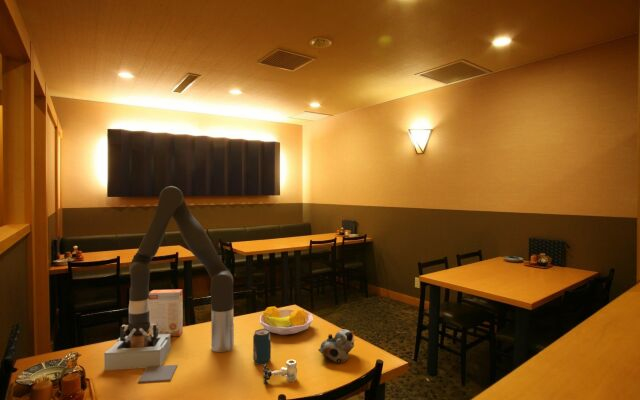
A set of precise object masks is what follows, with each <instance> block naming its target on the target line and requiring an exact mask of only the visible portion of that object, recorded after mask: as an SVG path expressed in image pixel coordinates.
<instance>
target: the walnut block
mask: <svg viewBox="0 0 640 400" xmlns="http://www.w3.org/2000/svg"><path fill="white" fill-rule="evenodd" d="M138 347H148V339H147V338H146V337H145V336H144V335H138V336H134V335H132V337H131V348H138Z"/></svg>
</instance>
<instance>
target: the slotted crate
mask: <svg viewBox="0 0 640 400" xmlns="http://www.w3.org/2000/svg"><path fill="white" fill-rule="evenodd" d="M152 336H153V335H152ZM126 337H128V335H126ZM116 340H117V341H116V343H115V344H113V346H112V347H111V348H109V349H107V350H106V351H105V352H104V355H103V357H104V359H103V360H104V363H103V364H104V371H113V370H114V371H115V370H130V369H131V370H132V369H146V368H147V367H150V366H163V365H162V364H163V363H164V361H165V359H166V357H167V356H168V354H169V353H170V351H171V346H172V345H171V336H170V334H158V337H157V338H156V339H155V340H153V347H138V348H126V346H125V342H124V341H120V337H118V339H116ZM130 341H131V339H130Z"/></svg>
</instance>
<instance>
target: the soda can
mask: <svg viewBox="0 0 640 400" xmlns="http://www.w3.org/2000/svg"><path fill="white" fill-rule="evenodd" d="M271 337H272V335H271V332H269V330H266V329H265V328H261V329H257V330H255V331H254V334H253V336H252V338H253V339H252V340H253V341H252V342H253V343H252V345H253V346H252V348H253V349H252V352H253V353H252V355H253V356H252V359H253V362H254V363H255V364H256V365H260V366H261V365H262V366H263V365H265V364H266V365H268V363H269V362H270V361H271V358H272V357H271V355H272V354H271V353H272V351H271V350H272V349H271V347H272V345H271V343H272V342H271V341H272V339H271Z"/></svg>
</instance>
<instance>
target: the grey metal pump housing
mask: <svg viewBox="0 0 640 400" xmlns="http://www.w3.org/2000/svg"><path fill="white" fill-rule="evenodd" d="M355 340H356V339H355V336H354V330H349V329H343V328H342V329H340V330H338V331H337V332H336V333H335V335H334V337H333V334H331V333H329V334H328V336H327V339H325V340H323V341H322V342H321V344H320V348H318V352H319V353H321V354H322V355H324V356H326V357H327V358H329V360H332V361H334V362H335V363H339V364H343V363H344V362H346V361H347V360H348V359H349V353H350V352H351V351H352V349H354V348H355Z"/></svg>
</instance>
